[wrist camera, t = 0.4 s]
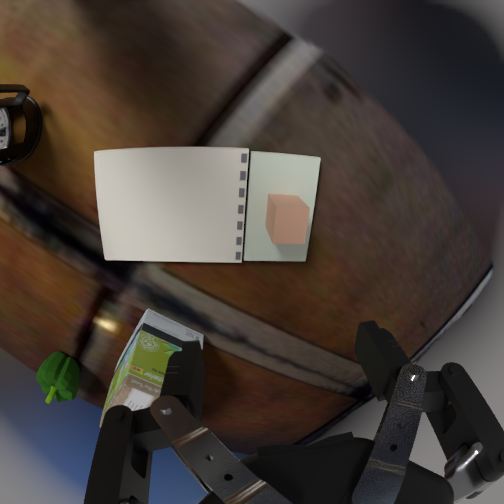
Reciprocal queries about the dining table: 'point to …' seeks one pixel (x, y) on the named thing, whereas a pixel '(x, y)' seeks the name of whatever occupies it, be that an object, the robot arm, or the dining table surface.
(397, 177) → the dining table surface
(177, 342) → the tea box
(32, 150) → the french press
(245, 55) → the dining table surface
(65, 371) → the bell pepper
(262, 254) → the stub
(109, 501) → the robot arm
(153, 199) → the white notebook
